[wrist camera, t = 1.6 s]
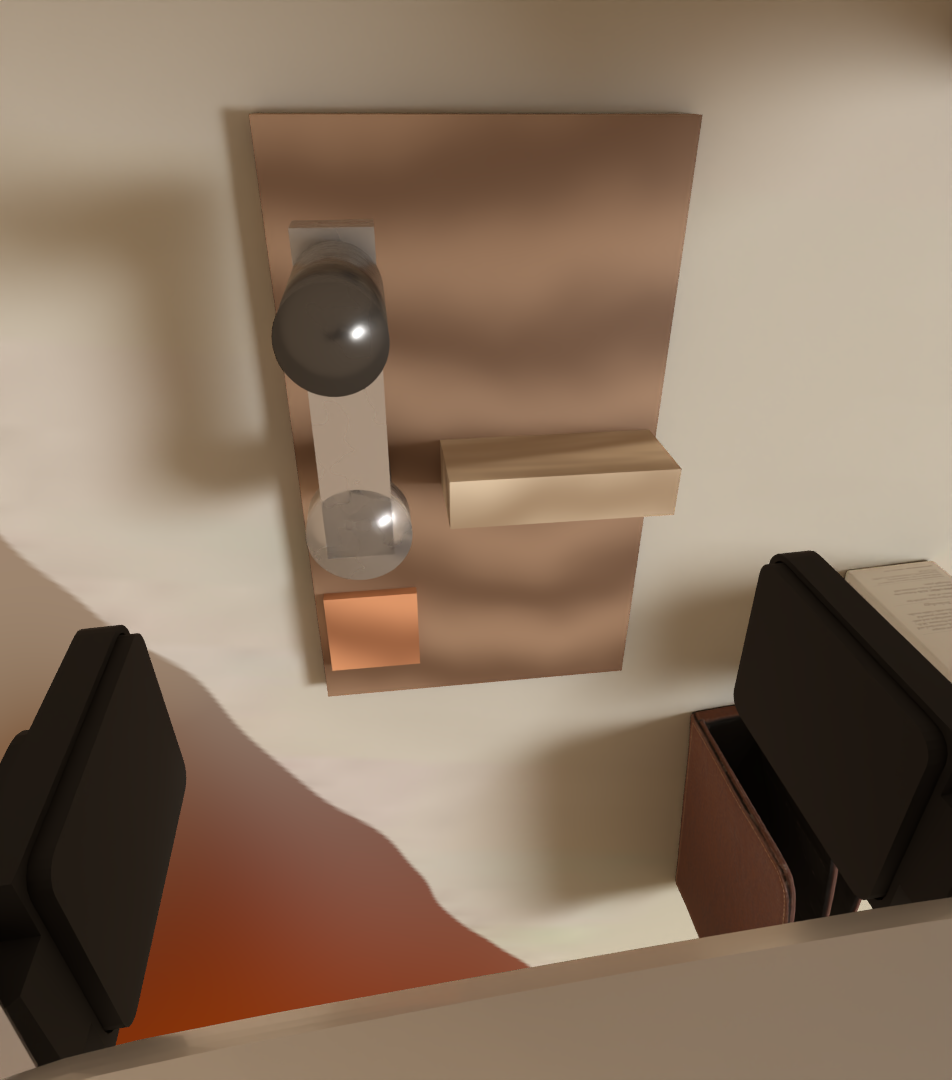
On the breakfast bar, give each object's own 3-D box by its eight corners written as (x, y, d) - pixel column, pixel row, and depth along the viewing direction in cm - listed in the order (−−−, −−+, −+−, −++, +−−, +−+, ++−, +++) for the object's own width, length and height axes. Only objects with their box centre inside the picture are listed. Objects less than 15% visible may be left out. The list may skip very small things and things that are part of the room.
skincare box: (900, 654, 50) (1079, 843, 38) (816, 666, 50) (968, 862, 37) (933, 551, 46) (1148, 728, 33) (841, 564, 45) (1024, 748, 33)
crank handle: (412, 556, 33) (424, 668, 27) (313, 563, 33) (303, 679, 27) (395, 218, 26) (408, 264, 20) (267, 220, 25) (237, 268, 19)
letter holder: (673, 879, 61) (748, 1070, 50) (688, 709, 51) (789, 901, 39) (788, 858, 62) (889, 1042, 50) (827, 685, 51) (967, 867, 40)
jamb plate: (252, 113, 29) (231, 120, 24) (691, 113, 31) (751, 120, 26) (329, 682, 45) (325, 754, 40) (615, 657, 47) (644, 723, 42)
